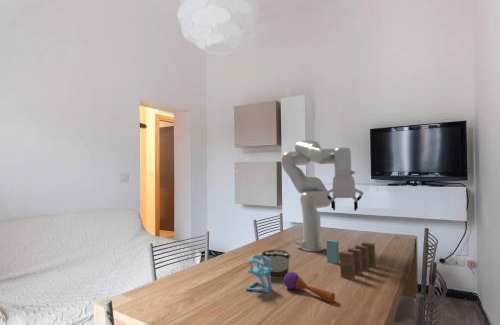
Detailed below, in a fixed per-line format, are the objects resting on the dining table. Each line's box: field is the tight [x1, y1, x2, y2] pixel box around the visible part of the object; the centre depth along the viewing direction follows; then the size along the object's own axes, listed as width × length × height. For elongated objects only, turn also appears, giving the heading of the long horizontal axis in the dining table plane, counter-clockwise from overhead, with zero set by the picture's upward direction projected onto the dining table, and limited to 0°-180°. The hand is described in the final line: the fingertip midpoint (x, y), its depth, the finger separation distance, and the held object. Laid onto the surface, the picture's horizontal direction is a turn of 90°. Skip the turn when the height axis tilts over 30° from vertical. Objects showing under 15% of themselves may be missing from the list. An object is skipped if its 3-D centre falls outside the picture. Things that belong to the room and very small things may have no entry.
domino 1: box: [339, 250, 356, 281], centre depth 118 cm, size 2×5×10 cm, turn 44°
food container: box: [261, 249, 292, 279], centre depth 122 cm, size 12×6×10 cm, turn 71°
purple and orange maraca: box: [283, 271, 336, 304], centre depth 103 cm, size 6×6×20 cm
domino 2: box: [347, 247, 363, 276], centre depth 122 cm, size 2×5×10 cm, turn 44°
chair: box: [245, 254, 273, 293], centre depth 109 cm, size 8×8×12 cm
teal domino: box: [326, 239, 340, 265], centre depth 138 cm, size 2×5×10 cm, turn 44°
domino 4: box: [361, 241, 377, 268], centre depth 131 cm, size 2×5×10 cm, turn 44°
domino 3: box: [354, 244, 370, 272], centre depth 127 cm, size 2×5×10 cm, turn 44°
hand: (344, 210), depth 138 cm, fingers open, 9 cm apart
